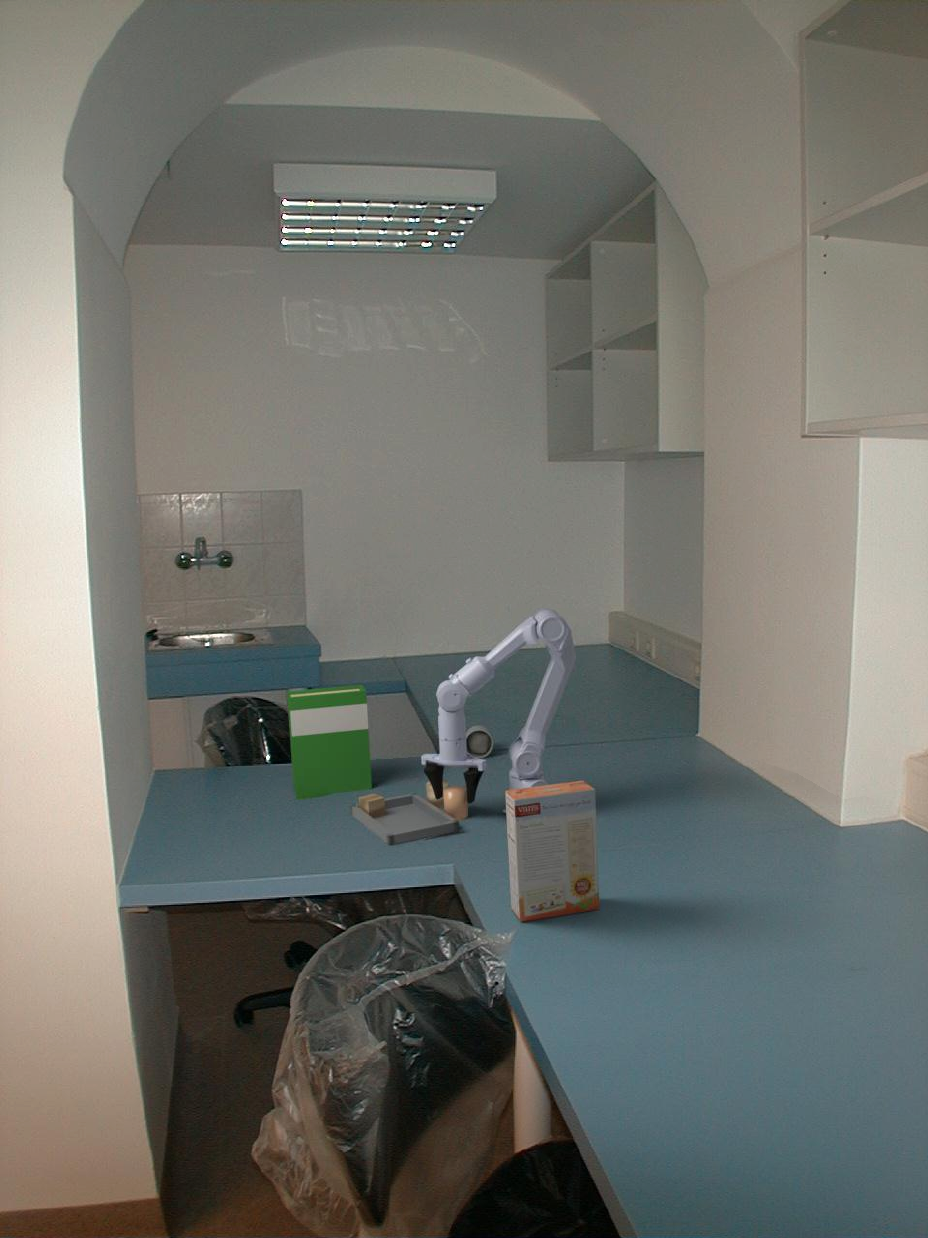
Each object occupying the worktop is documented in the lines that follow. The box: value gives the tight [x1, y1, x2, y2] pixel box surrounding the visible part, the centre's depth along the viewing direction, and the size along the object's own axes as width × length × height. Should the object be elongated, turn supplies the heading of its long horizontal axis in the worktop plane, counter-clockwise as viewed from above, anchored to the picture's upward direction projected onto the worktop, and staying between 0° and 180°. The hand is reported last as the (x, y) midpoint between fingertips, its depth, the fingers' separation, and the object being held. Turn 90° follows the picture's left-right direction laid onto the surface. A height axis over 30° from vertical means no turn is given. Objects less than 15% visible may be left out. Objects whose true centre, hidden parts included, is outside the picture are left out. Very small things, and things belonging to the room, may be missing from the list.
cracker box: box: [504, 780, 600, 923], centre depth 168 cm, size 14×6×21 cm, turn 104°
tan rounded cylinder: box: [443, 785, 469, 821], centre depth 216 cm, size 5×5×6 cm
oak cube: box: [358, 793, 385, 819], centre depth 219 cm, size 4×4×4 cm
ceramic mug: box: [466, 725, 494, 759], centre depth 265 cm, size 11×8×8 cm
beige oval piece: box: [425, 779, 450, 810], centre depth 224 cm, size 5×5×6 cm
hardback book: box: [286, 684, 373, 801], centre depth 238 cm, size 18×7×24 cm, turn 104°
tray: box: [349, 792, 460, 846], centre depth 214 cm, size 22×15×2 cm
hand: (455, 800), depth 216 cm, fingers open, 7 cm apart
